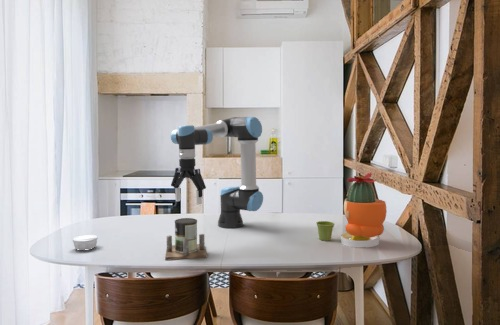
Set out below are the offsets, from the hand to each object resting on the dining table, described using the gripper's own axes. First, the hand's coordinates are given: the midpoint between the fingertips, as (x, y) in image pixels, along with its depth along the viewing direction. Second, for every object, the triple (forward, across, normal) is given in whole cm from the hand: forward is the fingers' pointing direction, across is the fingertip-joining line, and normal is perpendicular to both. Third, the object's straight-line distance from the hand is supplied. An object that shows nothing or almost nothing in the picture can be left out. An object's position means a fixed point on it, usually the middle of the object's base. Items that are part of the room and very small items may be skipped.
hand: (188, 202), depth 186 cm
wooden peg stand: (+22, +3, -6) cm, 23 cm away
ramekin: (+22, -43, -28) cm, 56 cm away
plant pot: (+24, +47, +52) cm, 74 cm away
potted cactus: (+24, +66, +56) cm, 90 cm away
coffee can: (+22, +3, -6) cm, 22 cm away
